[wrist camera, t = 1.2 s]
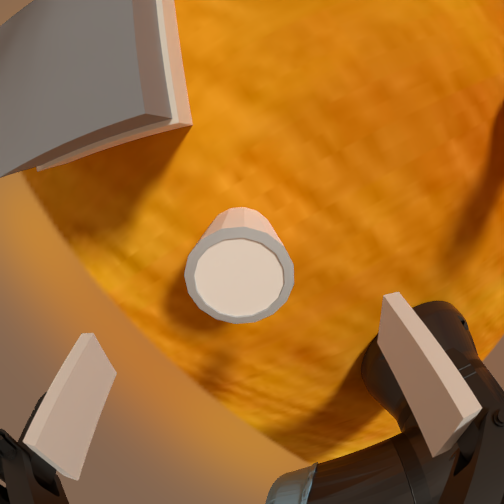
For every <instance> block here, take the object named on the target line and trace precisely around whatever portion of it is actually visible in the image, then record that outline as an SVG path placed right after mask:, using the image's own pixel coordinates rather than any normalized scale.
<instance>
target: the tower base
mask: <svg viewBox="0 0 504 504" xmlns="http://www.w3.org/2000/svg"><path fill="white" fill-rule="evenodd" d="M156 5H157V15H158V24H159V32H160V40H161V48H162V56H163V63H164V70H165V76H166V83H167V89H168V96H169V102H170V108H171V113H172V119H169V120H165V121H161V122H157V123H154V124H150V125H147V126H143V127H140V128H137V129H133V130H130V131H127V132H124V133H121V134H118V135H115V136H112V137H109V138H106V139H103V140H101V141H98V142H95V143H93V144H90V145H87V146H85V147H82V148H80V149H77V150H75V151H72V152H70V153H68V154H65V155H63V156H61V157H58V158H56V159H54V160H52V161H49V162H47V163H45V164H43V165H40V166H37V167H36V168H37V172H38V171H41V170H45V169H48V168H52V167H55V166H59V165H63V164H66V163H70V162H72V161H75V160H77V159H80V158H82V157H85V156H88V155H91V154H93V153H96V152H99V151H102V150H105V149H108V148H111V147H114V146H117V145H120V144H123V143H126V142H129V141H133V140H136V139H140V138H143V137H147V136H150V135H154V134H158V133H161V132H165V131H169V130H173V129H177V128H182V127H186V126H190V125H193V124H192V118H191V112H190V106H189V100H188V94H187V88H186V82H185V75H184V69H183V62H182V56H181V49H180V42H179V35H178V27H177V20H176V12H175V4H174V0H156Z"/></svg>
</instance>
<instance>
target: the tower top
mask: <svg viewBox="0 0 504 504" xmlns="http://www.w3.org/2000/svg"><path fill="white" fill-rule="evenodd" d="M169 119H172V113H171V108H170V102H169V96H168V89H167V83H166V76H165V70H164V63H163V56H162V48H161V40H160V32H159V24H158V15H157V5H156V0H34V1H32V2H31V3H29V4H28V5H27V6H25V7H24V8H23V9H21V10H20V11H19V12H17V13H16V14H15V15H14V16H12V17H11V18H10V19H9V20H8V21H6V22H5V23H4V24H3V25H2V26H0V177H4V176H6V175H10V174H13V173H16V172H19V171H23V170H26V169H30V168H33V167H37V166H40V165H43V164H45V163H47V162H49V161H52V160H54V159H56V158H58V157H61V156H63V155H65V154H68V153H70V152H72V151H75V150H77V149H80V148H82V147H85V146H87V145H90V144H93V143H95V142H98V141H101V140H103V139H106V138H109V137H112V136H115V135H118V134H121V133H124V132H127V131H130V130H133V129H137V128H140V127H143V126H147V125H150V124H154V123H157V122H161V121H165V120H169Z"/></svg>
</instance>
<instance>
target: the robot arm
mask: <svg viewBox="0 0 504 504" xmlns="http://www.w3.org/2000/svg"><path fill="white" fill-rule="evenodd" d="M361 373H362V377H363V380H364V382H365V385H366V387H367V389H368V391H369V393H370V394H371V395H372V396H373V397H374V398H375V399H376V400H377V401H378V402H379V403H380V404H381V405H382V406H383V407H384V408H385V409H386V410H387V411H388V412H389V413H390V414H391V415H392V416H393V417H394V418H395V419H396V420H397V423H398V425H399V427H400V430H401V432H402V433H400V434H398V435H396V436H394V437H391V438H389V439H387V440H384V441H382V442H380V443H377V444H375V445H372V446H370V447H367V448H365V449H362V450H359V451H356V452H354V453H351V454H348V455H345V456H342V457H339V458H336V459H333V460H330V461H326V462H323V463H319V464H318V462H317V463H314V464H313V465H312V466H309V467H306V468H303V469H300V470H296V471H293V472H289V473H286V474H284V475H282V476H280V477H279V478H278V479H277V480H276V481H275V482H274V483H273V485H272V487H271V489H270V491H269V493H268V496H267V500H266V504H504V391H503V389H502V388H501V387H500V385H499V384H498V382H497V381H496V380H495V378H494V377H493V376H492V374H491V373H490V372H489V370H488V369H487V368H486V367H485V366H484V364H483V363H482V361H481V360H480V358H479V357H478V354H477V351H476V348H475V345H474V342H473V339H472V336H471V334H470V331H469V329H468V325H467V322H466V320H465V318H464V317H463V315H462V314H461V313H460V312H459V311H458V310H457V309H456V308H455V307H454V306H453V305H452V304H450V303H448V302H444V301H432V302H427V303H424V304H421V305H418V306H416V307H414V308H411V306H410V305H409V304H408V303H407V302H406V300H405V299H404V298H403V297H402V295H401V294H400V293H399V292H395V293H391V294H387V295H383V303H382V311H381V319H380V326H379V333H378V336H377V337H376V338H375V340H374V341H373V342H372V344H371V345H370V347H369V348H368V350H367V352H366V354H365V356H364V359H363V362H362V367H361ZM116 374H117V373H116V371H115V370H114V368H113V366H112V365H111V363H110V362H109V360H108V358H107V356H106V355H105V353H104V351H103V349H102V348H101V346H100V344H99V342H98V341H97V339H96V337H95V335H94V333H87V334H86V333H84V334H81V336H80V337H79V339H78V340H77V342H76V344H75V345H74V347H73V348H72V350H71V352H70V353H69V355H68V357H67V358H66V360H65V362H64V363H63V365H62V367H61V368H60V370H59V372H58V374H57V375H56V377H55V379H54V381H53V382H52V384H51V386H50V388H49V390H48V392H46V393H45V394H44V395H43V396H42V397H41V398H40V399H39V400H38V402H37V404H36V406H35V410H33V412H32V414H31V417H30V418H29V420H28V422H27V424H26V426H25V428H24V430H23V432H22V434H21V437H20V438H19V440H18V442H16V441H15V440H14V439H13V438H12V437H11V436H10V435H9V434H8V433H7V432H6V431H5V430H3V429H0V479H1V480H2V481H4V482H5V483H6V488H5V487H3V486H2V485H0V504H69V502H68V500H67V497H66V495H65V492H64V490H63V487H62V484H61V481H60V479H59V477H58V475H56V474H55V473H56V470H57V471H59V472H60V473H61V474H63V475H64V476H66V477H69V478H72V479H75V480H79V477H80V473H81V470H82V467H83V464H84V461H85V457H86V454H87V451H88V448H89V445H90V442H91V440H92V437H93V434H94V431H95V428H96V425H97V423H98V420H99V417H100V414H101V412H102V409H103V406H104V404H105V401H106V399H107V396H108V393H109V391H110V389H111V386H112V384H113V381H114V379H115V377H116Z"/></svg>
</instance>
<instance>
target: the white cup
mask: <svg viewBox="0 0 504 504" xmlns="http://www.w3.org/2000/svg"><path fill="white" fill-rule="evenodd" d="M184 277H185V281H186V286H187V290H188V294H189V295H190V296H191V298H192V299H193V300H194V302H195V303H196V304H197V306H198V307H199V309H201V310H203V311H204V312H206V313H207V314H209V315H210V316H212V317H213V318H215V319H218V320H222V321H226V322H230V323H234V324H238V323H250V322H256V321H259V320H261V319H263V318H266V317H268V316H270V315H272V314H274V313H275V312H276V311H277V310H278V309H279V308H280V307H281V306H282V305H283V304H284V303H285V302H286V301H287V299H288V297H289V294H290V292H291V290H292V288H293V285H294V265H293V263H292V261H291V259H290V257H289V255H288V253H287V251H286V249H285V247H284V245H283V244H282V242H281V241H280V239H279V237H278V236H277V234H276V232H275V231H274V229H273V228H272V226H271V224H270V223H269V221H268V220H267V219H266V218H265V217H264V216H263V215H261V214H260V213H259V212H258V211H256V210H252V209H249V208H245V207H239V208H230V209H228V210H226V211H224V212H222V213H221V214H219V215H218V216H217V217H216V218H215V219H214V221H213V222H212V223H211V224H210V226H209V227H208V229H207V230H206V231H205V233H204V234H203V236H202V237H201V238H200V240H199V241H198V243H197V244H196V246H195V247H194V248H193V250H192V251H191V253H190V254H189V256H188V260H187V264H186V268H185V273H184Z"/></svg>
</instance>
